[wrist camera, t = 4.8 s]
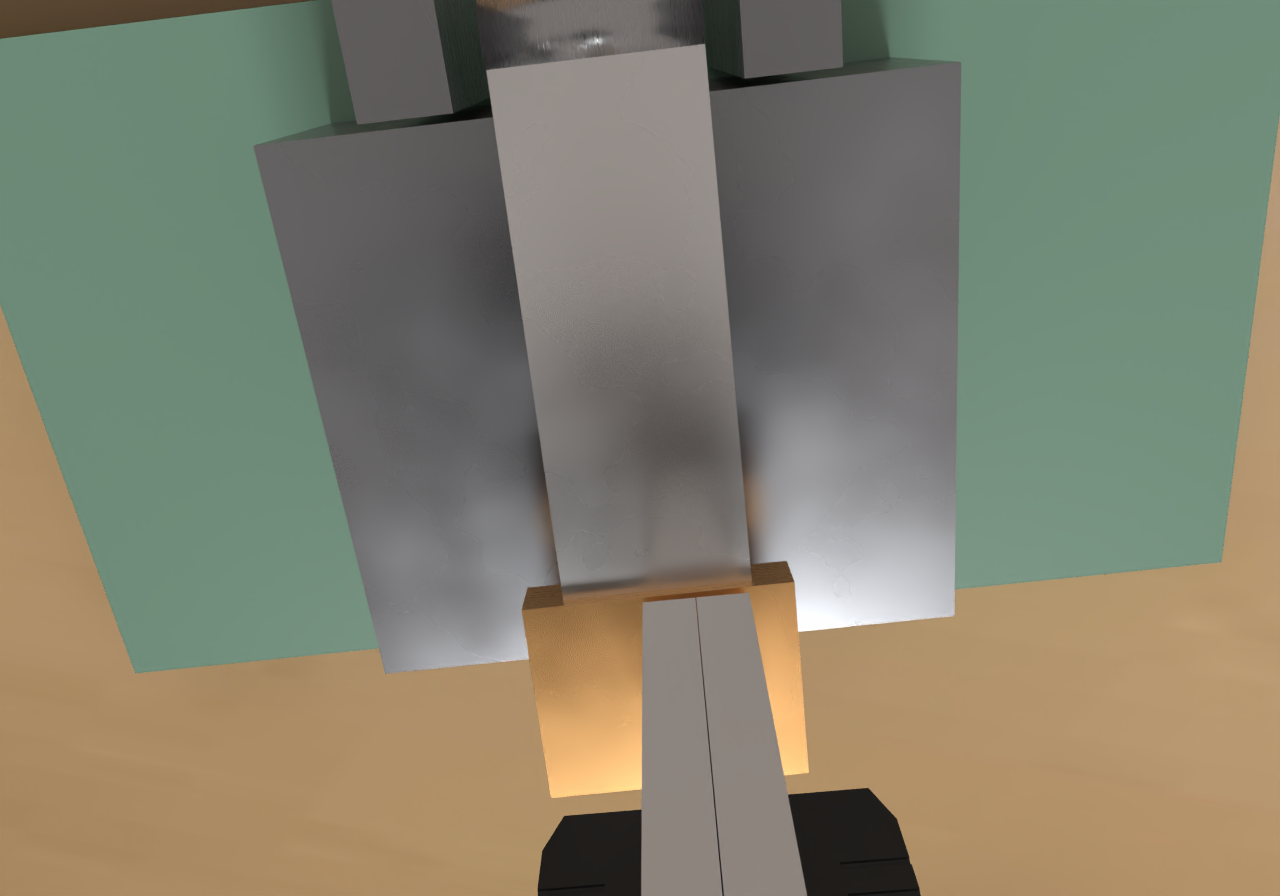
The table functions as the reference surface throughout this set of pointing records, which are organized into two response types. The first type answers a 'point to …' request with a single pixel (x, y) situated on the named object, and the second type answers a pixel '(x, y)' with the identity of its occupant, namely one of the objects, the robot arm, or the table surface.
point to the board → (871, 28)
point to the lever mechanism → (757, 305)
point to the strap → (625, 364)
